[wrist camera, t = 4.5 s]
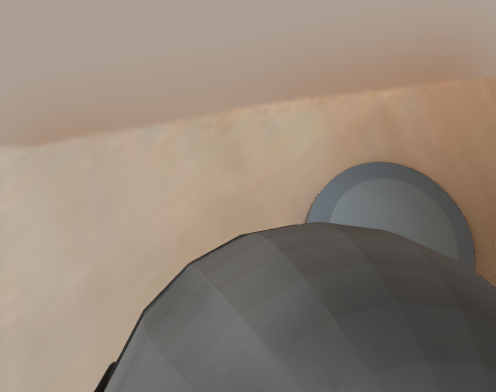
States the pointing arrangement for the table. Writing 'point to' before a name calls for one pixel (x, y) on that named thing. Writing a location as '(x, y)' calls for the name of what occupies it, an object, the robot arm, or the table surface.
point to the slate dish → (396, 208)
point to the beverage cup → (315, 319)
